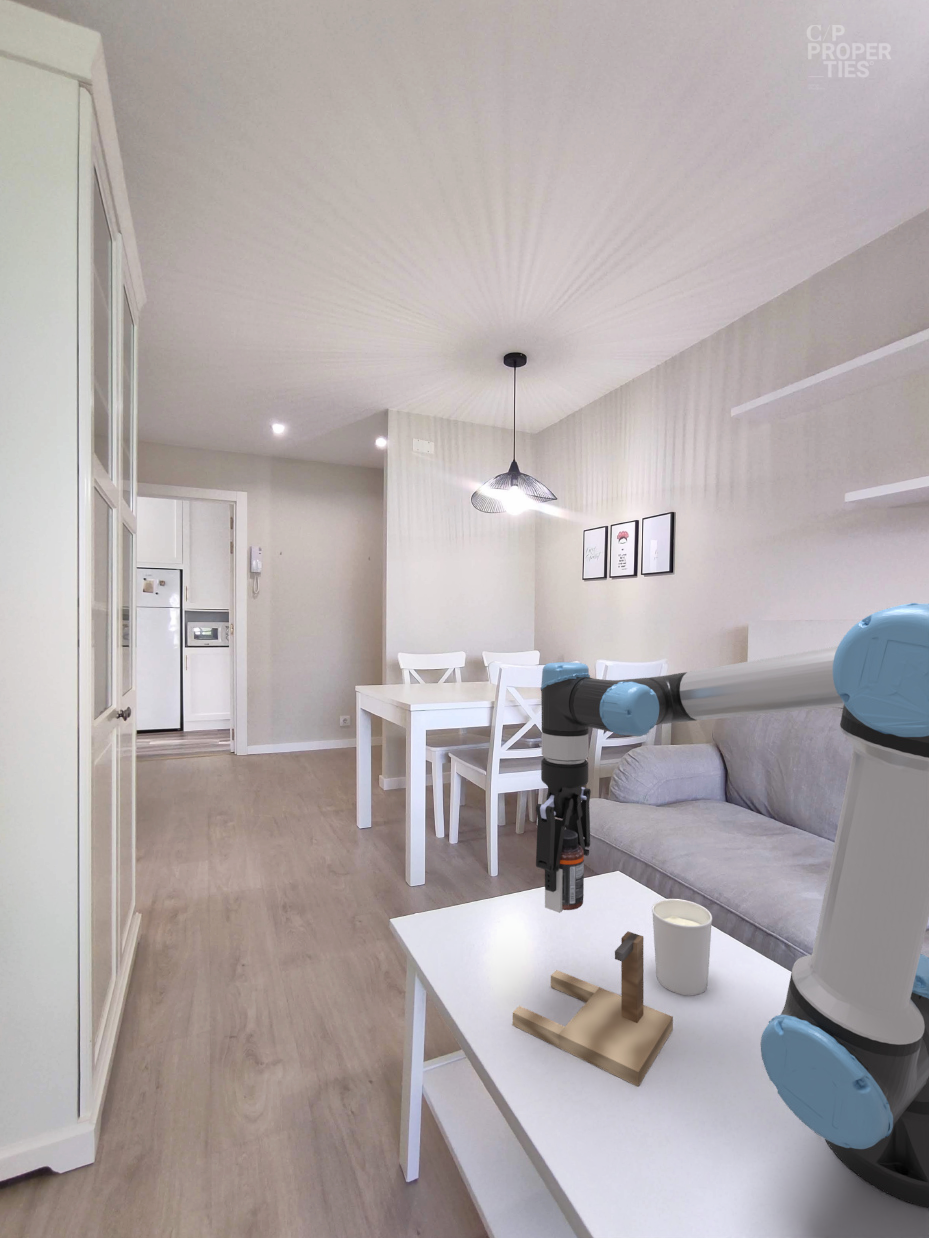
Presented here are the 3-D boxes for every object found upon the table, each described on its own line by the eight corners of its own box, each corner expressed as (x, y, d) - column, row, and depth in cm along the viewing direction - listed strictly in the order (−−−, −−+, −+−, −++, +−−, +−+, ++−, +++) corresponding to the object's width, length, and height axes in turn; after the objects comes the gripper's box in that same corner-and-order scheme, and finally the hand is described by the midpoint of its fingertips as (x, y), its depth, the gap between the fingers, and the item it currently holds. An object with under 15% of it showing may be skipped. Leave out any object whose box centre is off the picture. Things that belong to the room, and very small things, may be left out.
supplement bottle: (538, 902, 97) (538, 832, 97) (562, 891, 101) (562, 823, 101) (567, 916, 92) (567, 842, 92) (591, 903, 96) (591, 833, 96)
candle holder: (717, 1002, 98) (717, 929, 98) (655, 994, 100) (655, 923, 100) (706, 968, 107) (706, 901, 107) (649, 961, 109) (649, 896, 109)
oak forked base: (672, 1029, 91) (672, 1016, 91) (638, 1086, 80) (638, 1071, 80) (556, 981, 103) (556, 969, 103) (512, 1025, 92) (512, 1012, 92)
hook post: (643, 1014, 92) (643, 936, 92) (627, 1037, 87) (626, 955, 87) (627, 1008, 93) (627, 931, 93) (610, 1030, 88) (610, 949, 88)
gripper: (572, 745, 106) (572, 875, 106) (512, 766, 92) (511, 916, 92) (612, 751, 101) (611, 887, 102) (554, 774, 87) (554, 933, 87)
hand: (564, 901), depth 97 cm, fingers closed on supplement bottle, 6 cm apart
